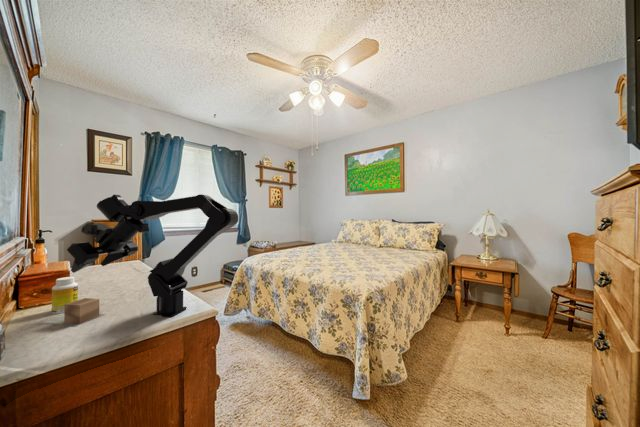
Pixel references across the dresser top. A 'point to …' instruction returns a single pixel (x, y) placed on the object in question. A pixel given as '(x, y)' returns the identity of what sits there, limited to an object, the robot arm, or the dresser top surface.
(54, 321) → the grey flat slab
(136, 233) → the robot arm
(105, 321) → the dresser top surface
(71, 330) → the dresser top surface
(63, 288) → the supplement bottle
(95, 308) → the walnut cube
